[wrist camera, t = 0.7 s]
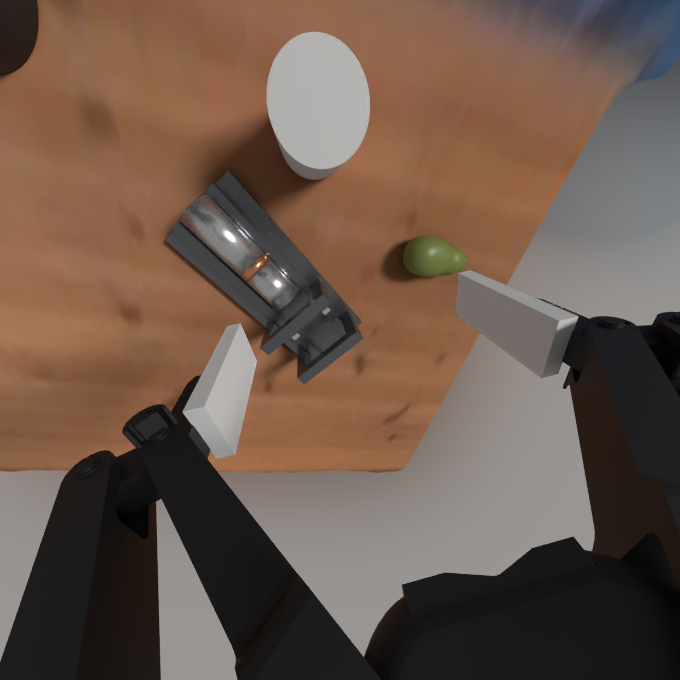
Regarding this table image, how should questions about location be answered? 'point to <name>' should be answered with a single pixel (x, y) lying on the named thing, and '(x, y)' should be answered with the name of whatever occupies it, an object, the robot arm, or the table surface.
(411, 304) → the table surface
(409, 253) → the pear
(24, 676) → the robot arm
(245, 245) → the tube
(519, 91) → the table surface
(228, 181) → the collar rail
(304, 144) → the white cylinder
